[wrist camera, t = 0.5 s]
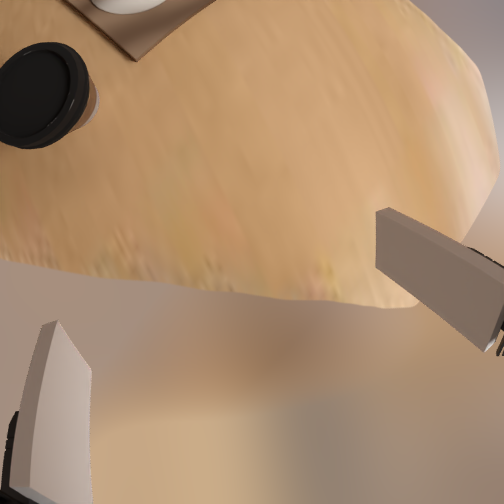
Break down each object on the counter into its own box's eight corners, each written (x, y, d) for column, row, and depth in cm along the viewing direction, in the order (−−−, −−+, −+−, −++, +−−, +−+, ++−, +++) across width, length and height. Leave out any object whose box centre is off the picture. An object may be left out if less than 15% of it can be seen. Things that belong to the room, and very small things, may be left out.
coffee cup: (30, 105, 25) (-35, 100, 12) (85, 54, 25) (46, 13, 12) (69, 154, 29) (18, 177, 16) (124, 105, 29) (105, 90, 16)
